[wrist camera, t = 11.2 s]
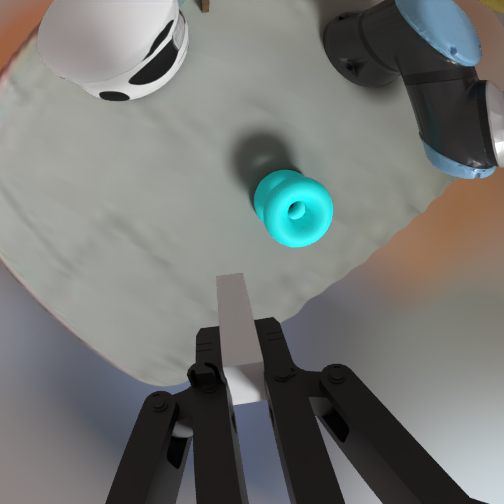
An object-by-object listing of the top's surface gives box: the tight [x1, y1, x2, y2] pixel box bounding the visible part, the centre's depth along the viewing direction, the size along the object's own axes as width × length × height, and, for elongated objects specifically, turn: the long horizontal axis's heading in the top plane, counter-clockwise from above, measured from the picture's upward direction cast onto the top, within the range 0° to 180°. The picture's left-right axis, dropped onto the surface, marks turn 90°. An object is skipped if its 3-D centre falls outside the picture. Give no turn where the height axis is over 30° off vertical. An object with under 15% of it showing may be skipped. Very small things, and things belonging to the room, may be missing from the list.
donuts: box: [254, 170, 333, 247], centre depth 40 cm, size 10×10×10 cm
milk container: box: [37, 0, 190, 101], centre depth 22 cm, size 17×17×18 cm
